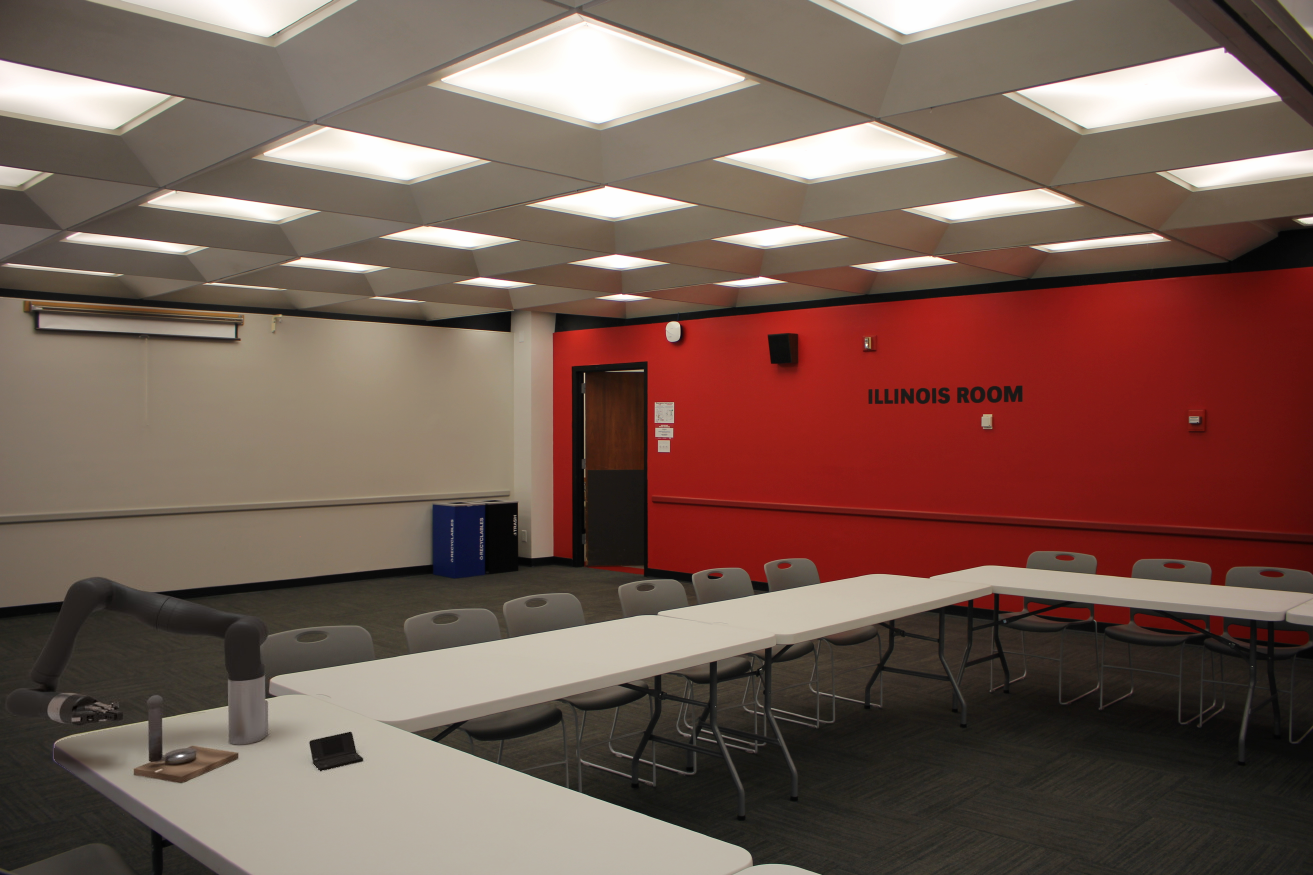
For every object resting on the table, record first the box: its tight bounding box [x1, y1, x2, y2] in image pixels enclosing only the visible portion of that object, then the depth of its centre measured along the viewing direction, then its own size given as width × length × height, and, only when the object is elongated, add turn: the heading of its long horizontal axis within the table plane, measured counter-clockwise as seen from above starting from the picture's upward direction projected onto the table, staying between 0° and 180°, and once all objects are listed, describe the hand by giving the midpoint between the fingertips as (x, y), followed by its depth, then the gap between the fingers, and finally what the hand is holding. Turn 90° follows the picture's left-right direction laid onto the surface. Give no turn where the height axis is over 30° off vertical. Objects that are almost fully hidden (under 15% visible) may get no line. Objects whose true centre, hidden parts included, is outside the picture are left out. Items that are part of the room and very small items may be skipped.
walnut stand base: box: [133, 745, 239, 784], centre depth 219 cm, size 17×16×2 cm
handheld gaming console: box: [308, 731, 364, 772], centre depth 222 cm, size 12×7×10 cm
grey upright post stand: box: [146, 694, 196, 764], centre depth 218 cm, size 11×7×17 cm, turn 124°
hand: (120, 716), depth 219 cm, fingers closed
